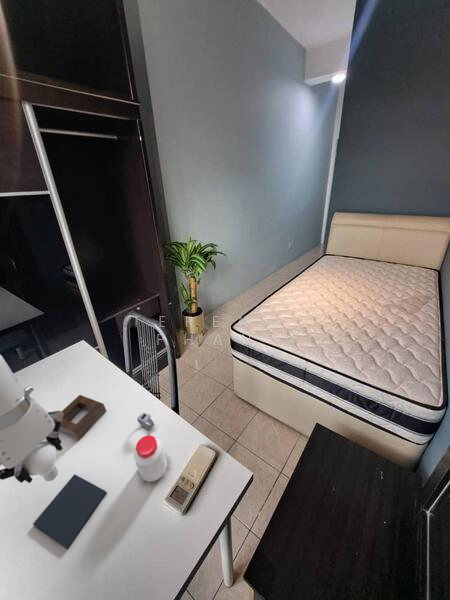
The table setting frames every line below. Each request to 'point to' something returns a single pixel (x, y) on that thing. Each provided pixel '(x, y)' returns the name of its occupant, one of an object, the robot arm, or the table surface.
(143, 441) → the pill bottle
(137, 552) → the table surface
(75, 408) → the socket block
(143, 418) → the wristwatch
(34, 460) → the lightbulb
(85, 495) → the mat
